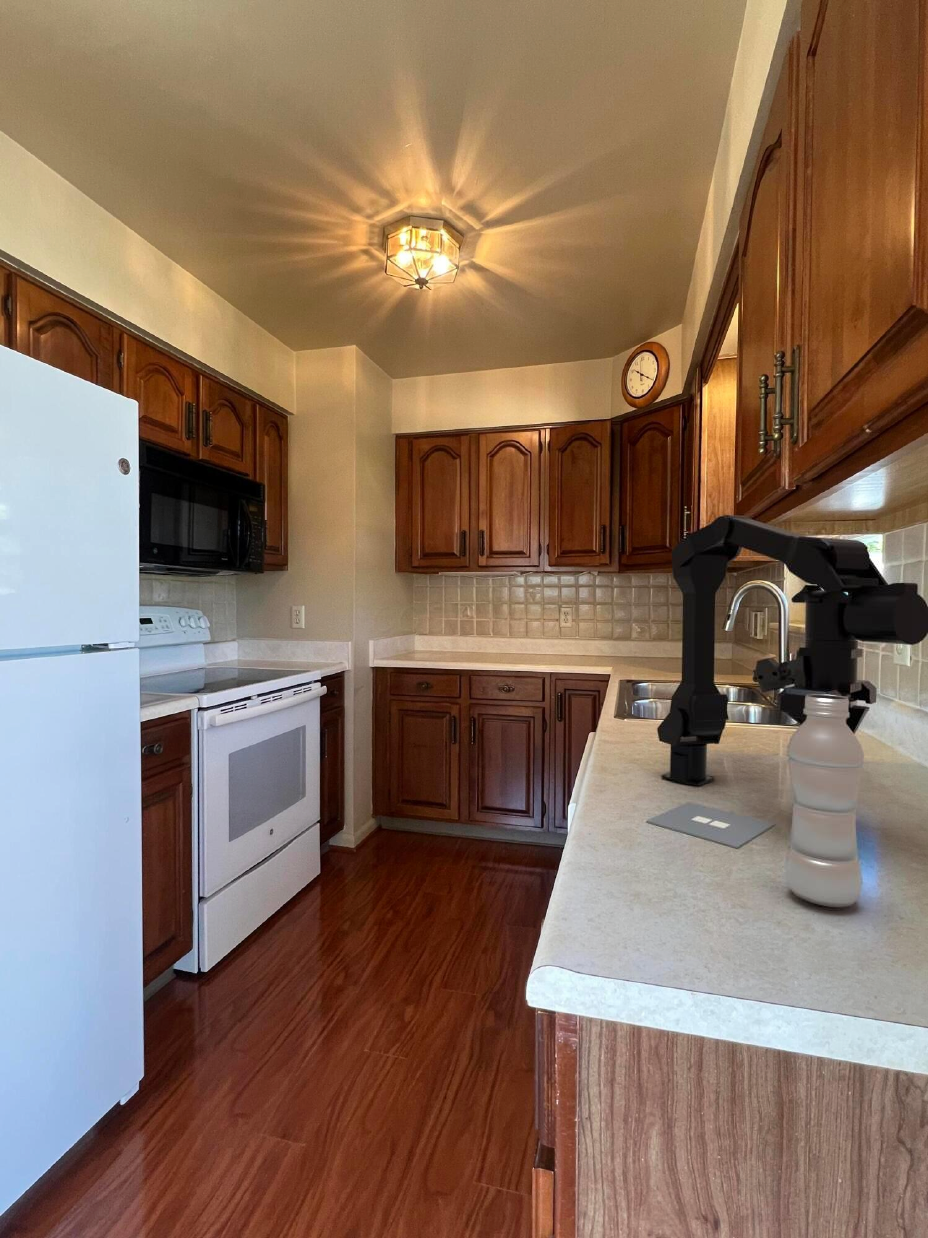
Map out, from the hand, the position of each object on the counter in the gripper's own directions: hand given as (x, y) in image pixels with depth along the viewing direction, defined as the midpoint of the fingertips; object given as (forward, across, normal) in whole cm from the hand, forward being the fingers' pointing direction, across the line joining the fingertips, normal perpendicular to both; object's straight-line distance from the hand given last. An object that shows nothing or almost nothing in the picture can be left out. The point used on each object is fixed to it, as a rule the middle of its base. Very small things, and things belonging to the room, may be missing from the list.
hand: (827, 764), depth 77 cm
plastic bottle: (+9, +19, +5) cm, 22 cm away
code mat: (+9, +6, -12) cm, 16 cm away
